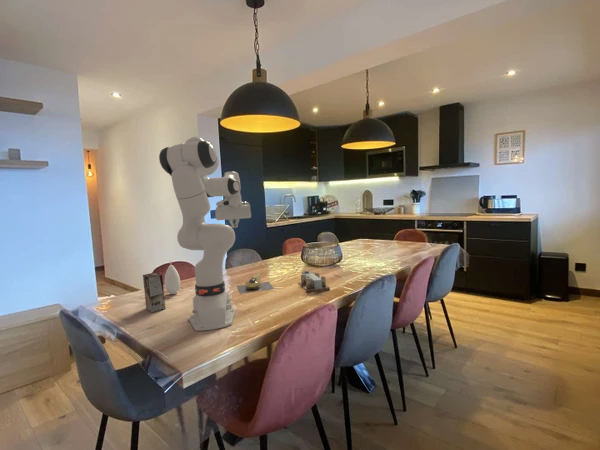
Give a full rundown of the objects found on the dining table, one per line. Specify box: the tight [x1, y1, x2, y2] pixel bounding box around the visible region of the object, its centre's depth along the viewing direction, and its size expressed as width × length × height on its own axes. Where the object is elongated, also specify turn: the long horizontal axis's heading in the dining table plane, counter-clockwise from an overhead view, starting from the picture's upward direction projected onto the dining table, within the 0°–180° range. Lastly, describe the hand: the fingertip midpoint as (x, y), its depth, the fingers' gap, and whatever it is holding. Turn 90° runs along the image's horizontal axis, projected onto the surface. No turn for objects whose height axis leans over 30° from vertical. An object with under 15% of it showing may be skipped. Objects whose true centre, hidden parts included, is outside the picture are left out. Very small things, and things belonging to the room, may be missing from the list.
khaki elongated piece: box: [244, 273, 262, 289], centre depth 177 cm, size 17×8×4 cm, turn 174°
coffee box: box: [142, 272, 166, 313], centre depth 149 cm, size 9×6×16 cm
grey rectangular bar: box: [301, 270, 322, 289], centre depth 172 cm, size 21×6×5 cm, turn 17°
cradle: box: [297, 272, 331, 294], centre depth 170 cm, size 16×12×6 cm
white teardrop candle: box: [164, 260, 181, 295], centre depth 172 cm, size 8×8×18 cm
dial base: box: [236, 281, 275, 295], centre depth 173 cm, size 16×18×1 cm
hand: (234, 227), depth 176 cm, fingers closed
